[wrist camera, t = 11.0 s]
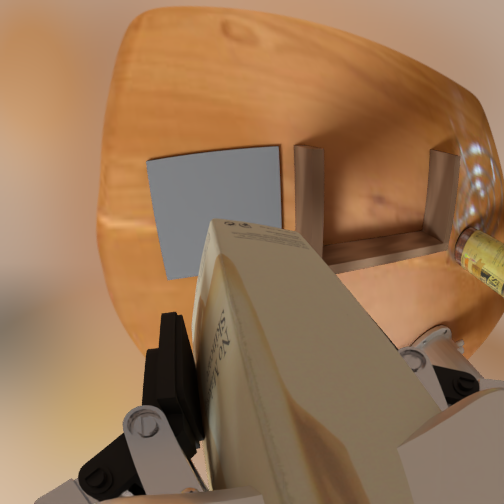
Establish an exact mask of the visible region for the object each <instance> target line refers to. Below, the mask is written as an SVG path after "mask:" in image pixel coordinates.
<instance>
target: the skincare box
mask: <svg viewBox="0 0 504 504" xmlns="http://www.w3.org/2000/svg"><path fill="white" fill-rule="evenodd" d="M192 338H193V355H194V360H195V364H196V370H197V380H198V391H199V401H200V410H201V418H202V426H203V433H204V440H202V443H203V450H204V457H205V464H206V470H207V477H208V484H209V490H210V491H213V490H222V489H229V488H236V487H242V486H248V485H250V486H251V487H253V488H254V489H256V490H257V491H258V492H259V493H261V494H262V496H263V500H264V503H265V504H414V501H413V498H412V494H411V491H410V487H409V484H408V480H407V477H406V474H405V471H404V467H403V464H402V461H401V458H400V455H399V453H398V450H397V447H398V446H400V445H401V444H402V443H403V442H404V441H405V440H406V439H407V438H409V437H410V436H411V435H412V434H413V433H414V432H415V431H416V430H418V429H419V428H420V427H421V426H422V425H423V424H424V423H425V422H426V421H428V420H429V419H430V418H432V417H434V416H435V415H437V414H439V413H441V412H442V411H441V409H440V408H439V406H438V405H437V404H436V402H435V401H434V399H433V398H432V397H431V395H430V394H429V392H428V391H427V390H426V388H425V387H424V386H423V384H422V383H421V382H420V380H419V378H418V377H417V376H416V375H415V373H414V372H413V371H412V369H411V368H410V367H409V365H408V364H407V363H406V361H405V360H404V359H403V358H402V356H401V355H400V354H399V352H398V351H397V350H396V348H395V347H394V346H393V344H392V343H391V342H390V341H389V339H388V338H387V337H386V336H385V334H384V333H383V332H382V331H381V329H380V328H379V327H378V326H377V324H376V323H375V322H374V321H373V320H372V318H371V317H370V316H369V314H368V313H367V312H366V311H365V309H364V308H363V307H362V306H361V305H360V303H359V302H358V301H357V300H356V298H355V297H354V296H353V295H352V294H351V292H350V291H349V290H348V289H347V288H346V286H345V285H344V284H343V283H342V282H341V280H340V279H339V278H338V277H337V276H336V275H335V273H334V272H333V271H332V270H331V269H330V268H329V266H328V265H327V264H326V263H325V262H324V261H323V259H322V258H321V257H320V256H319V255H318V254H317V253H316V251H315V250H314V249H313V248H312V247H311V246H310V244H309V243H308V242H307V241H306V240H305V239H304V238H303V237H302V235H301V234H300V233H298V232H295V231H290V230H285V229H281V228H276V227H271V226H266V225H260V224H255V223H248V222H242V221H234V220H226V219H217V218H214V219H212V220H211V221H210V224H209V228H208V232H207V236H206V241H205V245H204V249H203V254H202V259H201V264H200V269H199V275H198V280H197V286H196V294H195V302H194V310H193V319H192Z"/></svg>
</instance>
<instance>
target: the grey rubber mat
mask: <svg viewBox="0 0 504 504" xmlns="http://www.w3.org/2000/svg"><path fill="white" fill-rule="evenodd" d="M146 164H147V172H148V179H149V185H150V192H151V198H152V204H153V210H154V216H155V221H156V226H157V232H158V237H159V242H160V247H161V252H162V257H163V261H164V266H165V270H166V275H167V279H168V280H172V279H179V278H186V277H193V276H198V275H199V269H200V264H201V259H202V254H203V249H204V245H205V241H206V236H207V232H208V228H209V224H210V221H211V220H212V219H214V218H217V219H226V220H234V221H242V222H248V223H255V224H260V225H266V226H271V227H276V228H281V229H282V226H281V193H280V167H279V146H271V147H256V148H243V149H232V150H222V151H213V152H204V153H196V154H188V155H181V156H174V157H168V158H162V159H156V160H150V161H146Z"/></svg>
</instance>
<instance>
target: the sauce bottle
mask: <svg viewBox="0 0 504 504" xmlns="http://www.w3.org/2000/svg"><path fill="white" fill-rule="evenodd" d="M455 259H456V261H457V263H458V264H459V265H461V266H462V267H463V268H464V269H465V270H467V271H468V272H470V273H471V274H472V275H474V276H475V277H477V278H478V279H479V280H481V281H482V282H483V283H485V284H486V285H488V286H489V287H490V288H491V289H493V290H494V291H495V292H497V293H498V294H499V295H501V296H502V297H503V298H504V244H503V243H502V242H500V241H498V240H496V239H495V238H493V237H491V236H489V235H488V234H486V233H484V232H482V231H480V230H477V229H475V228H472V227H471V228H467V229H466V230H464V232H462V234H461V236H460V237H459V240H458V241H457V244H456V247H455Z"/></svg>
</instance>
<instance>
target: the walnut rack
mask: <svg viewBox="0 0 504 504" xmlns="http://www.w3.org/2000/svg"><path fill="white" fill-rule="evenodd" d="M294 166H295V216H296V232H298V233H300V234H301V235H302V237H303V238H304V239H305V240H306V241H307V242H308V243H309V244H310V246H311V247H312V248H313V249H314V250H315V251H316V253H317V254H318V255H319V256H320V257H321V258H322V259H323V261H324V262H325V263H326V264H327V265H328V266H329V268H330V269H331V270H332V271H333V272H334V273H335V274H339V273H344V272H349V271H354V270H359V269H364V268H369V267H374V266H378V265H383V264H388V263H393V262H397V261H402V260H406V259H411V258H415V257H420V256H424V255H429V254H433V253H437V252H441V251H446V250H447V249H448V244H449V239H450V234H451V229H452V223H453V217H454V211H455V204H456V196H457V188H458V178H459V166H460V156H457V155H453V154H449V153H445V152H441V151H437V150H430V164H429V178H428V190H427V199H426V208H425V215H424V222H423V229H422V231H417V232H410V233H404V234H397V235H391V236H384V237H377V238H371V239H364V240H358V241H351V242H344V243H338V244H331V245H324V246H323V225H324V149H322V148H317V147H312V146H307V145H294Z"/></svg>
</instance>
